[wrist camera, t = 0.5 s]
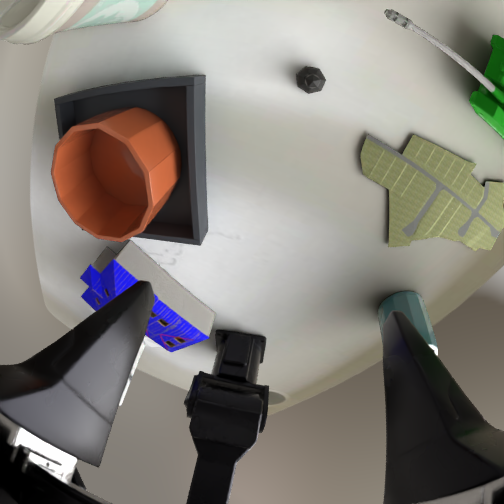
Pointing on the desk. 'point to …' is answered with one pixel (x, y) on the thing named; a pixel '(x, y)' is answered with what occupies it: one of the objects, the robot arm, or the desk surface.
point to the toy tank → (492, 83)
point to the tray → (184, 129)
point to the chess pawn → (310, 79)
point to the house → (165, 290)
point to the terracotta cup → (116, 171)
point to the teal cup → (409, 314)
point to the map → (434, 194)
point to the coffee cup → (66, 16)
